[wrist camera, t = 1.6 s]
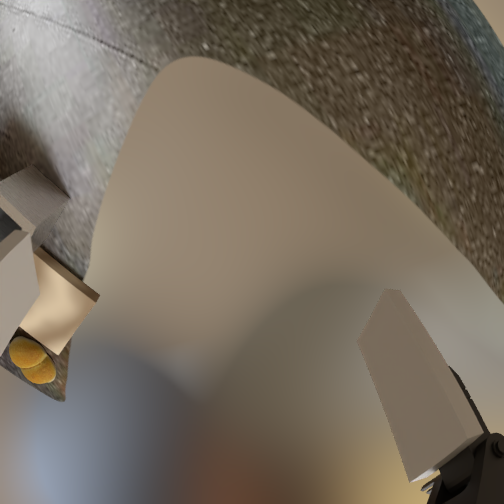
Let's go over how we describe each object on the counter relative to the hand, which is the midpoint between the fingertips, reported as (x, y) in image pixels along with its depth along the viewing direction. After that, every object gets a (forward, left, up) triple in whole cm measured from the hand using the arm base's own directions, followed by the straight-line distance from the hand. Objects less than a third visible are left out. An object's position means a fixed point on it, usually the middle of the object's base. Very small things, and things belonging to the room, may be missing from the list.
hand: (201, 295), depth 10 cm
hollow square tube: (-12, -16, -19) cm, 28 cm away
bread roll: (-3, -42, -20) cm, 46 cm away
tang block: (-9, -28, -19) cm, 35 cm away
